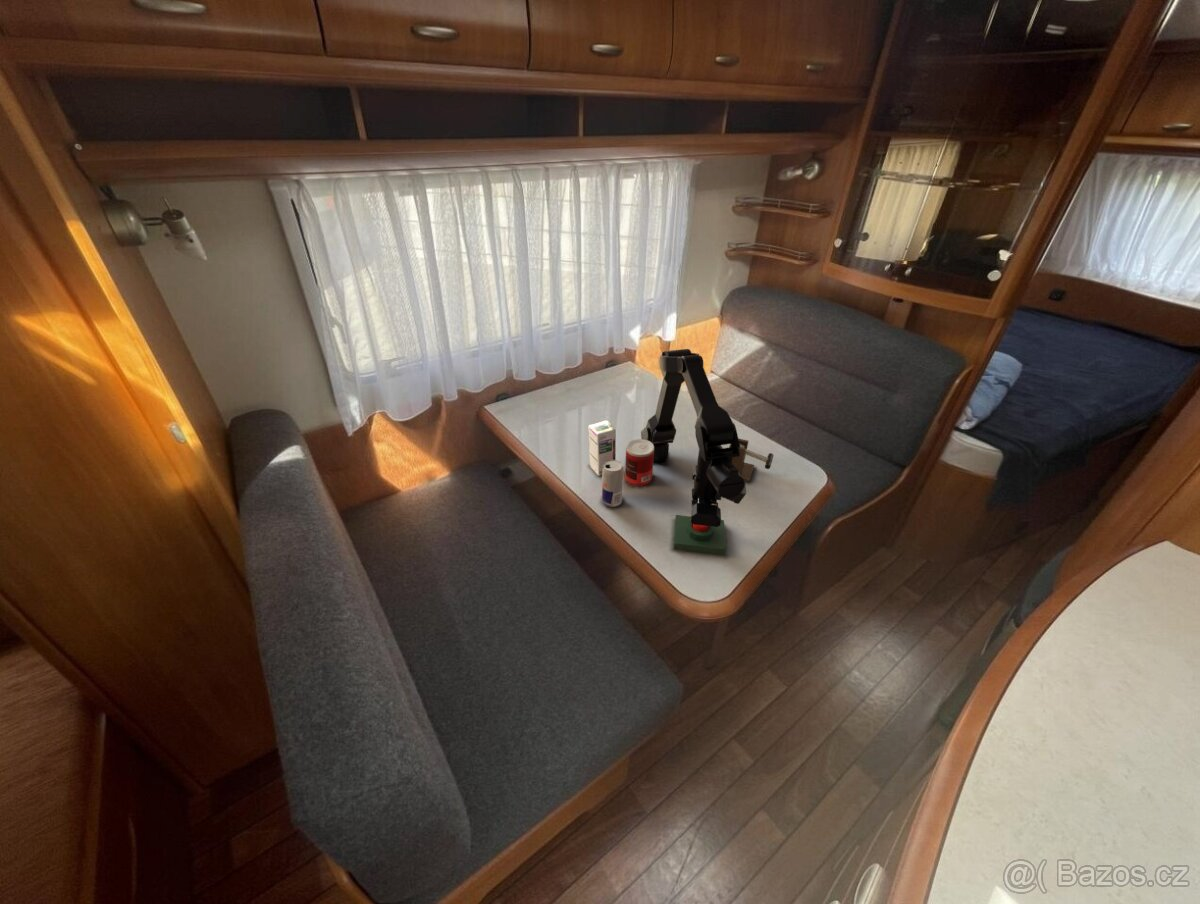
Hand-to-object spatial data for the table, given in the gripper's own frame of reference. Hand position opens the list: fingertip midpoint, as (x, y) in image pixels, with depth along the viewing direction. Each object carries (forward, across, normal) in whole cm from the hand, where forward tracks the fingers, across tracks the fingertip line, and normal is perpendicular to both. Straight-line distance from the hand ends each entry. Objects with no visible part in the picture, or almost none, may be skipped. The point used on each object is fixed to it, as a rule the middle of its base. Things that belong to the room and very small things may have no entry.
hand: (701, 521), depth 114 cm
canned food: (+6, +21, +17) cm, 28 cm away
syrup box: (+6, +24, +28) cm, 37 cm away
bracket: (+6, +29, -10) cm, 31 cm away
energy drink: (+6, +10, +23) cm, 26 cm away
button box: (+6, 0, 0) cm, 6 cm away
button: (+2, 0, 0) cm, 2 cm away
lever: (-1, +28, -14) cm, 31 cm away
